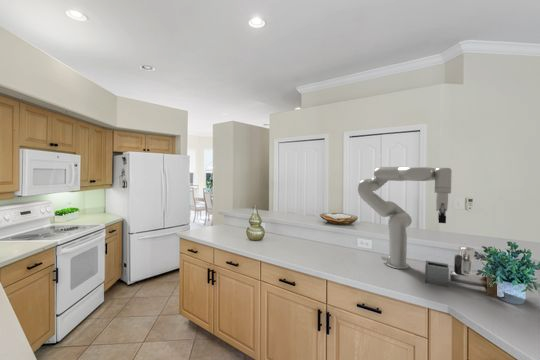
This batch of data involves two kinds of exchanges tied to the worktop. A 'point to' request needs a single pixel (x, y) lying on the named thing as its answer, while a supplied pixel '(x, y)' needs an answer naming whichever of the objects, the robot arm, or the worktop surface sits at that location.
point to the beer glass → (467, 259)
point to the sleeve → (437, 273)
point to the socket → (491, 288)
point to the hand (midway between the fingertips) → (441, 221)
